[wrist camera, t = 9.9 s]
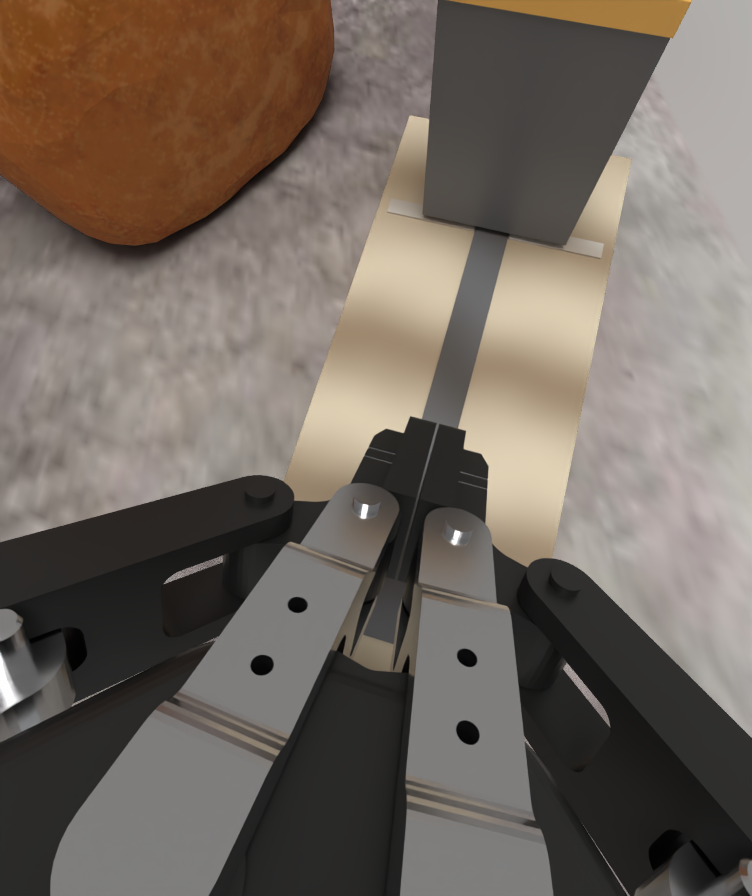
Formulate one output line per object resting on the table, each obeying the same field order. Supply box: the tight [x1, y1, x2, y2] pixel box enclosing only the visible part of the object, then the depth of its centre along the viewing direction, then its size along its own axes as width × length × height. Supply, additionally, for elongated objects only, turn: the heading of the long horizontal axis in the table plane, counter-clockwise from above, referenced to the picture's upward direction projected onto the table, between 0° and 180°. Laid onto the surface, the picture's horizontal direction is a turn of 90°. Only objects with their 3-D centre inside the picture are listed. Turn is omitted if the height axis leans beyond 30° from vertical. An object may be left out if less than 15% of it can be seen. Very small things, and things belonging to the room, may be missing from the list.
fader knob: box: [422, 0, 692, 245], centre depth 17 cm, size 4×6×9 cm, turn 74°
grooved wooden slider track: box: [284, 116, 632, 672], centre depth 20 cm, size 24×10×3 cm, turn 164°
